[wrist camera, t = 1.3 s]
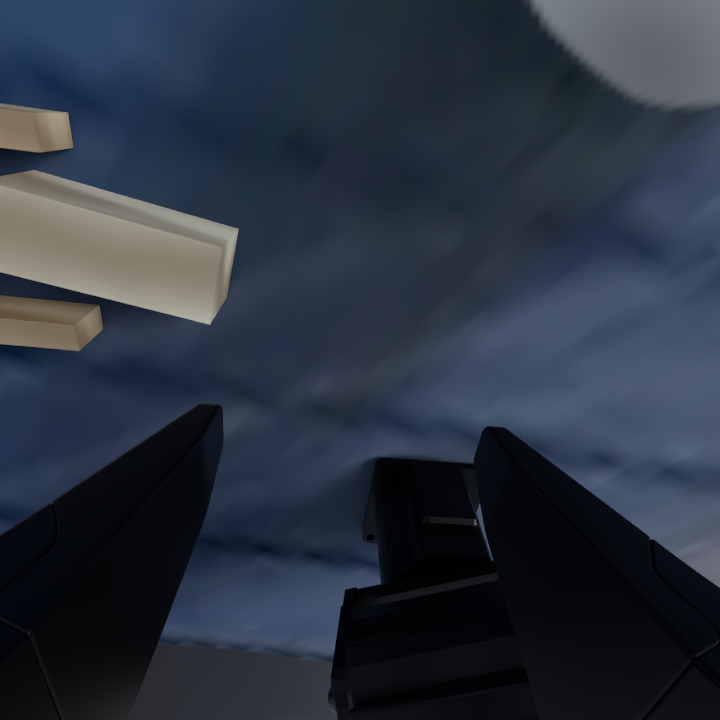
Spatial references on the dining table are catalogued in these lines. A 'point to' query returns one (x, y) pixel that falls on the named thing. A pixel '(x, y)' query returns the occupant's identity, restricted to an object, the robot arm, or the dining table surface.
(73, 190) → the beige rectangular block
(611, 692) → the robot arm
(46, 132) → the channel
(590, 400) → the dining table surface
